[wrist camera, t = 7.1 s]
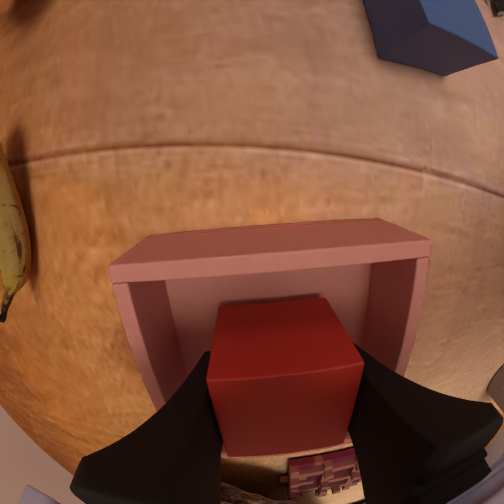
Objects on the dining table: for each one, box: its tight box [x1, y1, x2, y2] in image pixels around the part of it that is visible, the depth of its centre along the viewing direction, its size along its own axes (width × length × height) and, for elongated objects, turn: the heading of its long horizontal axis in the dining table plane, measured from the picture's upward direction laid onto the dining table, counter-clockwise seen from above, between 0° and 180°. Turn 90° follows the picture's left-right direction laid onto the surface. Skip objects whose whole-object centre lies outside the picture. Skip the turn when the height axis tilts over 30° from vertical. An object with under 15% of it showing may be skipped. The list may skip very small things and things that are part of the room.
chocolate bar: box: [280, 448, 362, 500], centre depth 16 cm, size 7×19×2 cm, turn 94°
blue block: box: [363, 0, 498, 76], centre depth 6 cm, size 4×4×4 cm
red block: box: [206, 297, 364, 457], centre depth 9 cm, size 4×4×4 cm
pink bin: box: [108, 218, 431, 458], centre depth 11 cm, size 10×10×4 cm
